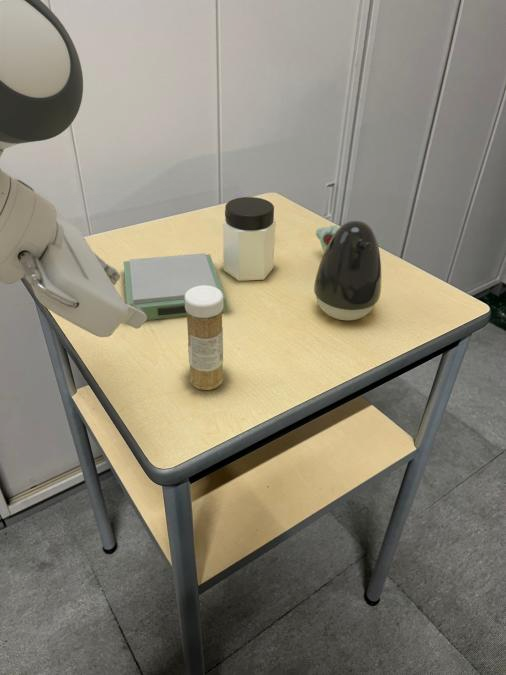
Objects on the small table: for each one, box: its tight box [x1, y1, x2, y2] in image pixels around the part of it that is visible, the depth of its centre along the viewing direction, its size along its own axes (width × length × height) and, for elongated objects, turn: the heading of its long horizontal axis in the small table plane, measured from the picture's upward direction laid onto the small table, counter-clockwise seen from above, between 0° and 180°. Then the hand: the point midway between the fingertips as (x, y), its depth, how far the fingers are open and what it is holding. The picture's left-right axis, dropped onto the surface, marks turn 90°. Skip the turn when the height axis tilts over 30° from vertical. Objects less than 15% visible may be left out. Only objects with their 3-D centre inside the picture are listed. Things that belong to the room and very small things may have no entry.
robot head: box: [315, 224, 340, 253], centre depth 94 cm, size 8×4×7 cm, turn 55°
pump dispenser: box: [313, 220, 382, 321], centre depth 78 cm, size 10×10×15 cm
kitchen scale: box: [123, 252, 227, 321], centre depth 85 cm, size 15×15×3 cm
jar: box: [222, 196, 277, 282], centre depth 89 cm, size 9×8×12 cm
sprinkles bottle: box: [184, 285, 225, 391], centre depth 64 cm, size 5×5×14 cm
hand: (127, 298), depth 58 cm, fingers open, 8 cm apart
